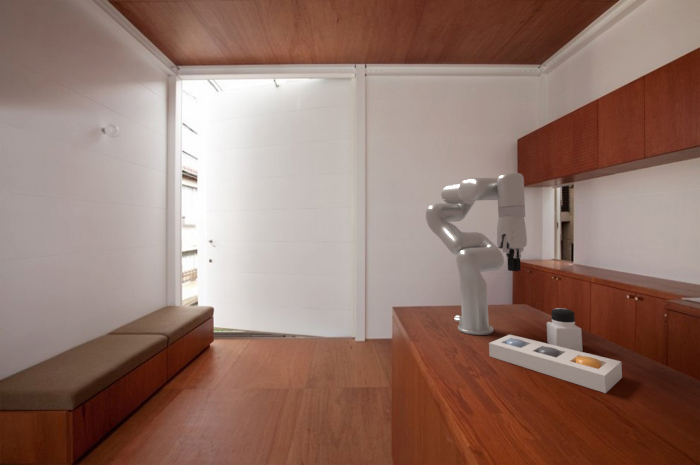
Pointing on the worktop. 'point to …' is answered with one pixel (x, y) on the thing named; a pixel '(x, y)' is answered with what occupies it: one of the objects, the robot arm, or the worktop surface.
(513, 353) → the frame
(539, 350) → the charcoal button
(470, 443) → the worktop surface
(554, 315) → the medicine bottle
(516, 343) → the slate button
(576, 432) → the worktop surface
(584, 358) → the orange button
